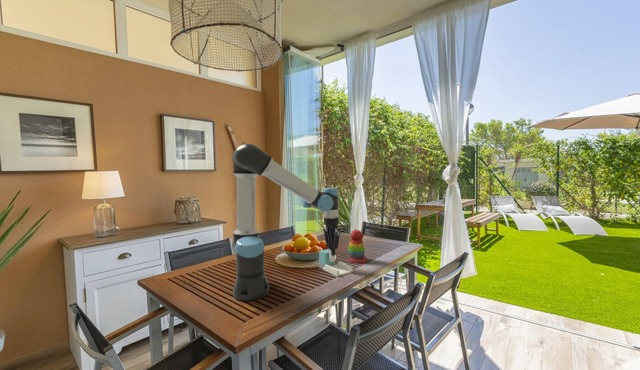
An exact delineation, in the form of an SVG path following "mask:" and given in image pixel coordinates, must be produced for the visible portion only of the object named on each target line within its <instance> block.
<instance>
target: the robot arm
mask: <svg viewBox="0 0 640 370" xmlns="http://www.w3.org/2000/svg"><path fill="white" fill-rule="evenodd" d="M231 158H232V163H233V164H232V166H233V167H232V169H233V174H232V175H233V176H235V177H236V228H235V230H234V231H233V232H232V234H233V235H232V236H233V237H232V238H233V239H232V243H231V244H232V245H231V249H232V252H233V254H234V258H235V265H236V267H235V268H236V279H235V283H234V286H233V290H232V296H233V298H234V299H235V300H237V301H245V302H246V301H248V302H249V301H255V300H259V299H263V298H264V297H266V296H267V295H269V293H270V285H269V282H268V280H267V277H266V274H265V273H266V272H265V251H264V250H265V244H264V241H263V239H262V238H261V237H259V234H260V233H259V230H258V229H257V228H256V193H257V192H256V191H257V190H256V188H257V187H256V183H257V182H256V179H257V177H258V176H260V177H261V176H264V177H265V178H267V179H269V180H270V181H273V182H274V183H275V184H277V185H278V186H281V187H282V188H283V189H284V190H287V191H289V192H290V193H292V194H293V195H295V196H296V197H298V198H300V199H301V200H300V201H301V206H302V208H304V209H306V208H307V209H309V208H313V209H316V210H319V211H320V212H323V217H324V218H323V220H324V221H323V223H324V226H325V228H323V229H322V231H323V235H324V240H325V247H326V248H327V249H329V261H330V262H333V261H336V250H337V249H338V248H339V243H340V237H341V231H339V230H338V225H339V192H338V191H339V190H338V188H337V187H324V188H323V191H320V190H318V189H317V188H316V187H314V186H313V185H311V184H309V182H306V181H305V180H303V179H302V178H300V177H299V176H298V175H295V174H294V173H293V172H291V171H290V170H288V169H287V168H285V167H284V166H282V165H280V164H279V163H277V162H276V161H274V158H273V156H271V155H270V154H268V153H266V152H265V151H264V150H263V149H261V148H260V147H258V146H257V145H256V144H253V143H244V144H241V145H239V146H238V147H237V148H236V149H235V150H234V151H233V153H232V157H231Z"/></svg>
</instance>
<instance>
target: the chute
mask: <svg viewBox="0 0 640 370" xmlns="http://www.w3.org/2000/svg"><path fill="white" fill-rule="evenodd" d="M317 268H320V269H321V270H323V271H325V272H327V273H329V274H330V275H333V276H334V277H341V275H342V276H345V274H346V275H348V274H352V272H353V273H354V266H352V265H350V264H348V263H345V262H344V261H341V260H339V261H337V263H336V262H335V264H334V265H330V266H329V265H327V264H326V265H325V266H323V265H321V266H318V267H317Z"/></svg>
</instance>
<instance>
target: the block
mask: <svg viewBox="0 0 640 370" xmlns="http://www.w3.org/2000/svg"><path fill="white" fill-rule="evenodd" d="M318 258H319V259H318V261H319V262H318V264H319V263H320V264H322V265H323V266H325V265H326V264H327V265H329V266H330V265H334V264H335V263H336V262H335V261H336V260H335V261H333V262H330V261H329V249H328V248H327V249H322V250H319V251H318Z"/></svg>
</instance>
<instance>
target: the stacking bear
mask: <svg viewBox="0 0 640 370" xmlns="http://www.w3.org/2000/svg"><path fill="white" fill-rule="evenodd" d="M350 237H351V238H350V239H351V240H350V241H349V244H348V249H347V251H348V256H349V258H348V261H349V262H350V263H354V264H358V265H359V264H361V265H362V264H366V263H367V256H365V253H366V250H365V248H366V247H365V244H364V240H363V239H364V237H365V235H364V234H363V233H362V231H361V230H359V229H356V228H354V230H352V231H351V232H350Z"/></svg>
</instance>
